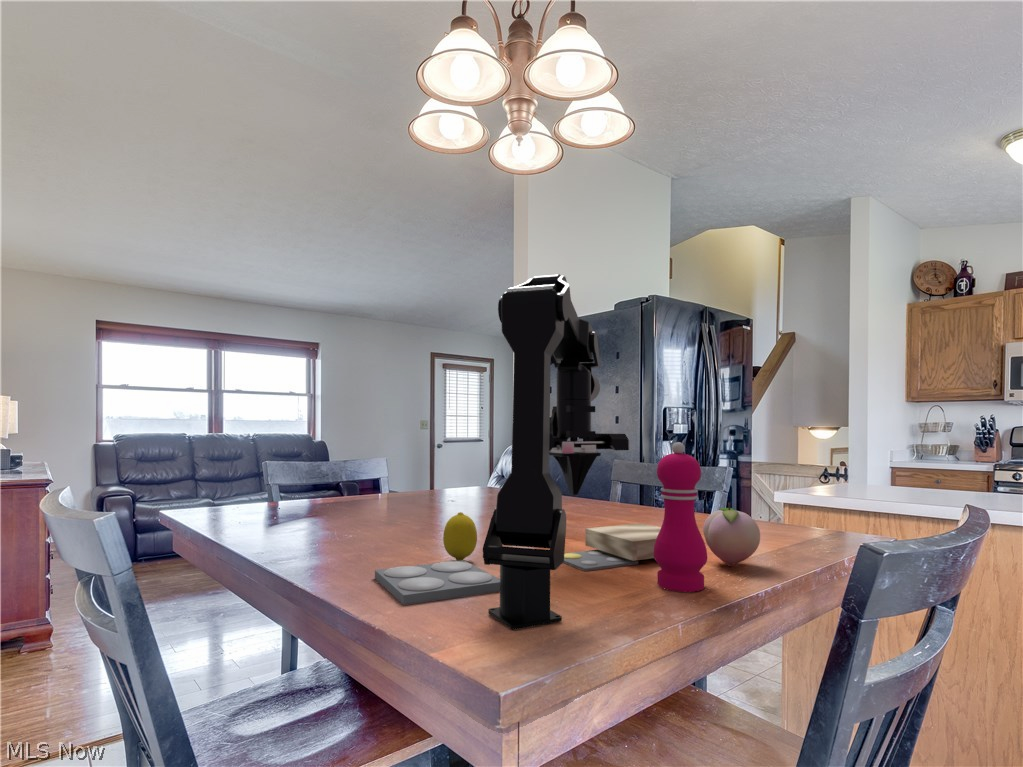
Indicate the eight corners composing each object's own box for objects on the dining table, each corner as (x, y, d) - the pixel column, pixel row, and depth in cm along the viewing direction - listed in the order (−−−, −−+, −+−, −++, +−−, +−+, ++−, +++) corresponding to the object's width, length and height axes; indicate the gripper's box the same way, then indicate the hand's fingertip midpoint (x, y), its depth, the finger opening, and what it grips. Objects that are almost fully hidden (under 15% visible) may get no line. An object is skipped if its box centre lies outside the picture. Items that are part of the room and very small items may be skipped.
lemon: (436, 563, 92) (437, 513, 93) (455, 556, 97) (455, 509, 97) (465, 567, 89) (465, 515, 90) (483, 560, 94) (483, 511, 95)
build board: (504, 590, 77) (504, 580, 77) (403, 605, 70) (403, 593, 70) (463, 567, 89) (464, 558, 89) (374, 578, 83) (374, 568, 83)
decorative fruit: (770, 574, 86) (768, 507, 87) (714, 572, 87) (713, 506, 88) (749, 559, 96) (747, 499, 96) (699, 558, 96) (698, 498, 97)
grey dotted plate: (638, 564, 92) (638, 560, 92) (585, 571, 87) (585, 567, 87) (599, 551, 101) (599, 548, 101) (549, 557, 97) (549, 554, 97)
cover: (693, 552, 96) (693, 534, 96) (633, 560, 90) (632, 541, 90) (642, 539, 108) (642, 523, 108) (585, 545, 102) (585, 528, 102)
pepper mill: (714, 584, 80) (711, 442, 82) (699, 597, 74) (696, 443, 76) (664, 576, 84) (662, 441, 86) (646, 587, 78) (644, 442, 80)
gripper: (594, 403, 106) (594, 488, 105) (502, 400, 98) (502, 492, 97) (630, 400, 96) (631, 494, 95) (532, 397, 88) (531, 499, 87)
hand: (573, 494), depth 94 cm, fingers closed
